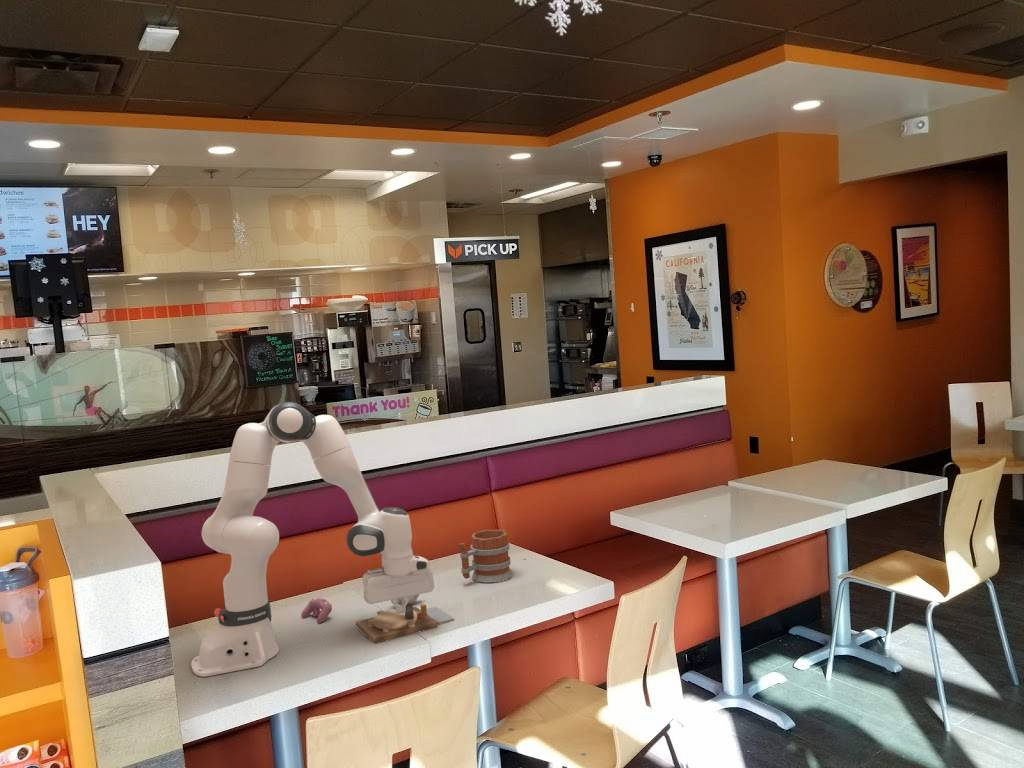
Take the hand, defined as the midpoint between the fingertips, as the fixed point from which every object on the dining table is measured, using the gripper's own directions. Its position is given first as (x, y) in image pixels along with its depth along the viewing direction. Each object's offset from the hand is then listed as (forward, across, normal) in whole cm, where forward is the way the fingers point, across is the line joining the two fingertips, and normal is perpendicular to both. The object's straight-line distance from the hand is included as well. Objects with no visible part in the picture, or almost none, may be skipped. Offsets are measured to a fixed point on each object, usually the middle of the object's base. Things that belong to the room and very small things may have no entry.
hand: (400, 612), depth 229 cm
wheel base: (+5, 0, +4) cm, 7 cm away
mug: (+5, +40, +27) cm, 48 cm away
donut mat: (+5, +13, +5) cm, 15 cm away
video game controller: (+6, -18, +27) cm, 33 cm away
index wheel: (+4, 0, +4) cm, 6 cm away
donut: (+5, +9, +20) cm, 23 cm away
